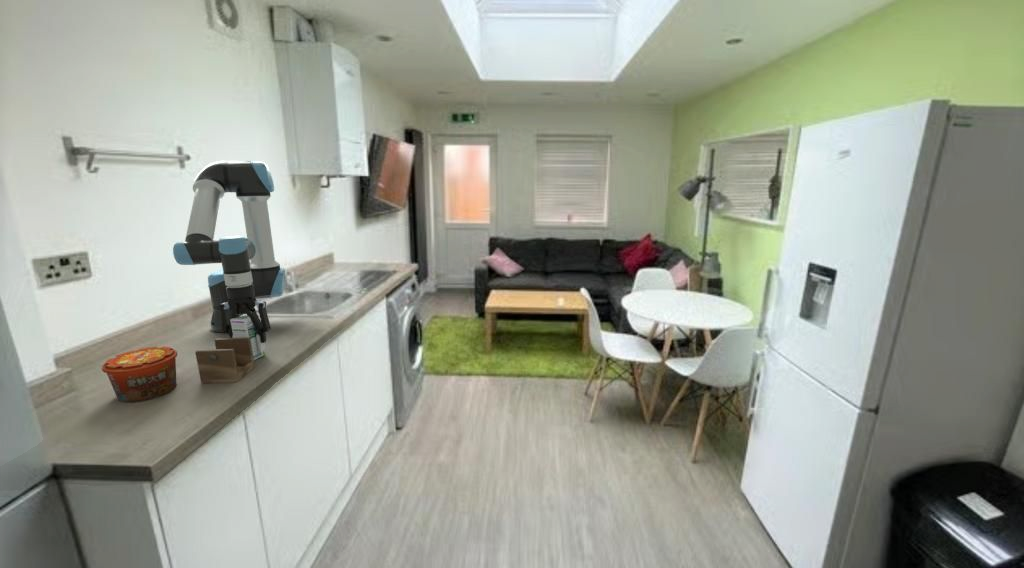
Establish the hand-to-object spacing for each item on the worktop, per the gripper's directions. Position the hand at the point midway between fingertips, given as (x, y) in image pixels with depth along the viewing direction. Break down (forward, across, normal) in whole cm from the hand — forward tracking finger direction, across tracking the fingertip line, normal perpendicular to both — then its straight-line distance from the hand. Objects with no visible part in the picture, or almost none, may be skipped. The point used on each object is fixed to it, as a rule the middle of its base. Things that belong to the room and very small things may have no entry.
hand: (250, 352), depth 143 cm
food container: (+2, -17, -22) cm, 28 cm away
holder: (+2, 0, -13) cm, 13 cm away
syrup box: (+2, 0, 0) cm, 2 cm away
